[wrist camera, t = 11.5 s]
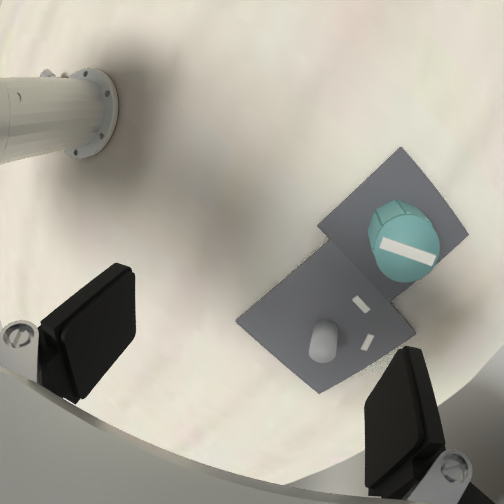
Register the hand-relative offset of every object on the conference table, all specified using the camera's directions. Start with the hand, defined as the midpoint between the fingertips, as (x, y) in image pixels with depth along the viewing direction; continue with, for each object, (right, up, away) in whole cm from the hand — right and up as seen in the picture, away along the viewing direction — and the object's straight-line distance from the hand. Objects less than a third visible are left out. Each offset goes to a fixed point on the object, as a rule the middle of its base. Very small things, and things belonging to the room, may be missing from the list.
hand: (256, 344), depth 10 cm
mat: (+15, +5, +20) cm, 26 cm away
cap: (+15, +5, +20) cm, 25 cm away
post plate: (+9, -6, +27) cm, 29 cm away
